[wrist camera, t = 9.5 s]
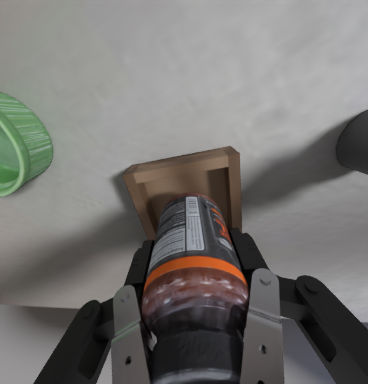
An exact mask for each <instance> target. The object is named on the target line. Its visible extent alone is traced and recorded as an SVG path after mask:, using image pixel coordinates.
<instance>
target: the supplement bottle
mask: <svg viewBox="0 0 368 384" xmlns="http://www.w3.org/2000/svg"><path fill="white" fill-rule="evenodd" d="M249 301H250V291H249V288H248V285H247V282H246V279H245V276H244V275H243V271H242V268H241V265H240V263H239V260H238V257H237V254H236V252H235V249H234V247H233V244H232V241H231V238H230V236H229V233H228V230H227V227H226V225H225V222H224V219H223V216H222V213H221V211H220V209H219V207H218V206H217V204H216V203H215V202H214V201H213V200H212V199H211V198H209V197H208V196H205V195H204V194H200V193H191V192H190V193H189V192H188V193H182V194H179V195H177V196H175V197H173V198H172V199H170V200H169V201H168V202H167V203H166V205H165V206H164V208H163V210H162V213H161V216H160V220H159V225H158V229H157V233H156V238H155V242H154V247H153V251H152V255H151V260H150V264H149V268H148V273H147V277H146V283H145V287H144V292H143V297H142V305H141V310H142V316H143V319H144V322H145V324H146V326H147V327H148V329H149V330H150V331H151V332H152V333H153V334H154V335H155V336H156V337H157V343H156V344H155V345H154V347H153V350H152V362H153V370H152V379H153V384H240V378H241V369H242V360H243V351H244V342H243V335H244V329H245V328H246V323H247V314H248V309H249Z"/></svg>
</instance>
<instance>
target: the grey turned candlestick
mask: <svg viewBox="0 0 368 384" xmlns="http://www.w3.org/2000/svg"><path fill="white" fill-rule="evenodd" d="M336 155H337V160H338V161H339V162H340V163H341V164H342V165H343V166H345V167H348V168H351V169H353V170H356V171H359V172H362V173H365V174H367V175H368V110H366V111H364V112H362V113H361V114H360V115H359V116H357V117H356V118H355V119H354V120H353V121H352V122H350V123H349V124H348V126H347V127H346V128H345V130H344V131H343V133H342V134H341V136H340V137H339V141H338V144H337V147H336Z"/></svg>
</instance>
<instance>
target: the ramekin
mask: <svg viewBox="0 0 368 384" xmlns="http://www.w3.org/2000/svg"><path fill="white" fill-rule="evenodd" d="M52 157H53V146H52V142H51V139H50V136H49V134H48V132H47V130H46V128H45V127H44V125H43V124H42V122H41V121H40V120H39V118H38V117H37V116H36V115H35V114H34V113H33V112H32V111H31V110H30V109H29V108H28V107H26V106H25V105H24V104H22V103H21V102H20V101H18V100H16V99H15V98H13V97H11V96H9V95H7V94H5V93H2V92H0V197H3V196H7V195H9V194H11V193H13V192H15V191H16V190H18V189H19V188H20V187H21V186H22V185H23V184H24V183H25V182H27V181H29V180H31V179H32V178H34V177H36V176H37V175H39V174H41V173H42V172H44V171H45V170H46V169H47V168H48V166H49V165H50V163H51V160H52Z"/></svg>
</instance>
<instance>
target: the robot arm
mask: <svg viewBox="0 0 368 384" xmlns="http://www.w3.org/2000/svg"><path fill="white" fill-rule="evenodd" d="M228 232H229V236H230V238H231V241H232V244H233V247H234V249H235V252H236V254H237V257H238V260H239V263H240V265H241V268H242V271H243V275H244V276H245V279H246V282H247V285H248V288H249V291H250V301H249V309H248V314H247V323H246V333H245V342H244V351H243V360H242V369H241V378H240V384H284V361H283V339H282V323H281V321H280V316H283V317H287V318H291V319H294V320H295V322H296V323H297V325H298V326H299V328H300V329H301V331H302V332H303V334H304V335H305V337H306V338H307V340H308V341H309V343H310V344H311V346H312V347H313V349H314V351H315V352H316V353H317V355H318V357H319V358H320V359H321V361H322V363H323V364H324V366H325V367H326V369H327V370H328V372H329V373H330V375H331V376H332V378H333V379H334V381H335V382H336V384H368V330H367V328H366V327H365V326H364V325H363V324H362V323H361V322H360V321H359V320H358V319H357V318H356V317H355V316H354V315H353V314H352V313H351V312H350V311H349V310H348V309H347V308H346V307H345V306H344V305H343V304H342V303H341V302H340V300H339V299H338V298H337V297H336V296H335V295H334V294H333V293H332V292H331V291H330V290H329V289H328V288H327V287H326V286H325V285H324V284H323V283H322V282H321V281H319V280H318V279H316V278H314V277H311V276H306V275H303V276H299V277H298V278H297V279H296V280H293V279H287V278H282V277H279V276H277V275H275V274H274V273H273V272H272V271H270V269H269V268H268V266H267V265H266V263H265V261H264V259H263V257H262V255H261V253H260V251H259V250H258V248H257V246H256V244H255V242H254V240H253V238H252V237H251V236H250V235H249V234H247V233H243V234H241V232H240V230H239V228H238V227H236V228H229V229H228ZM154 242H155V241H154V240H148V241H144V243H143V246H142V248H139V249H138V250H137V251H136V253H135V254H134V257H133V261H132V263H131V266H130V269H129V272H128V275H127V278H126V281H125V284H124V286H123V287H122V288H120V289H119V290H118V291H117V293H116V294H115V296H114V297H113V298H111V299H109V300H107V301H105V302H103V303H99V302H98V301H97V300H92V301H89V302H87V303H86V304H85V305H84V306H83V307H82V308H81V309H80V310H79V312H78V313H77V315H76V316H75V318H74V320H73V321H72V323H71V324H70V326H69V327H68V329H67V331H66V332H65V334H64V335H63V337H62V339H61V341H60V342H59V343H58V345H57V347H56V348H55V350H54V351H53V353H52V355H51V356H50V358H49V359H48V361H47V363H46V364H45V366H44V367H43V369H42V371H41V372H40V374H39V375H38V377H37V379H36V380H35V382H34V384H96V383H97V380H98V378H99V375H100V373H101V370H102V368H103V365H104V363H105V360H106V358H107V355H108V353H109V350H110V348H111V358H112V384H153V379H152V370H153V362H152V350H153V347H154V345H155V344H156V343H155V340H154V336H153V333H152V332H151V331H150V330H149V329H148V327H147V326H146V324H145V322H144V319H143V316H142V310H141V305H142V297H143V292H144V287H145V283H146V277H147V273H148V268H149V264H150V260H151V255H152V251H153V247H154Z"/></svg>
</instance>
